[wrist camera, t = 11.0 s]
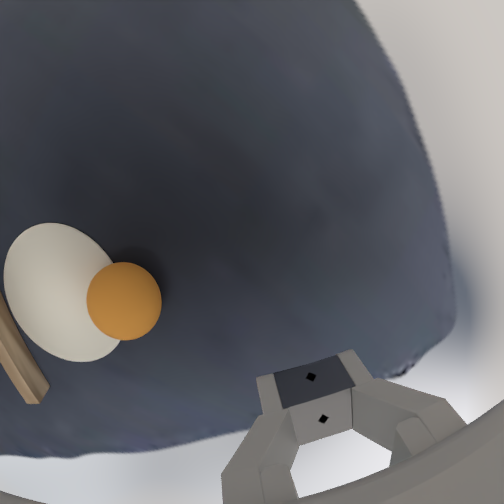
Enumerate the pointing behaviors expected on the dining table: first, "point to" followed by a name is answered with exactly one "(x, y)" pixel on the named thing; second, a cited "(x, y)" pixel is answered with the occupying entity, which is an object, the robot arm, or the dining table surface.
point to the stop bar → (19, 360)
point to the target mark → (56, 290)
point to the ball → (124, 301)
